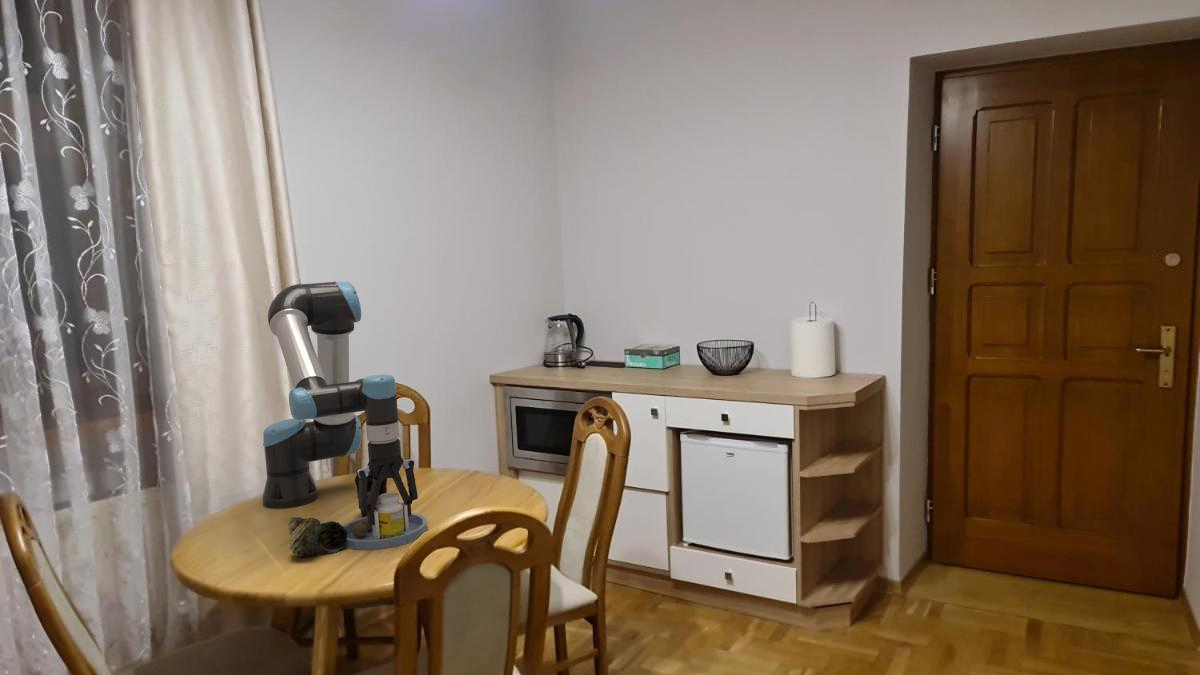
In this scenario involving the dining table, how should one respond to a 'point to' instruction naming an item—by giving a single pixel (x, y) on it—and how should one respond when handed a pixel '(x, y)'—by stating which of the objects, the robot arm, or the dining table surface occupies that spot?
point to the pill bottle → (390, 516)
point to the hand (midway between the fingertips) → (391, 533)
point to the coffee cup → (369, 484)
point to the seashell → (315, 536)
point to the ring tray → (371, 543)
